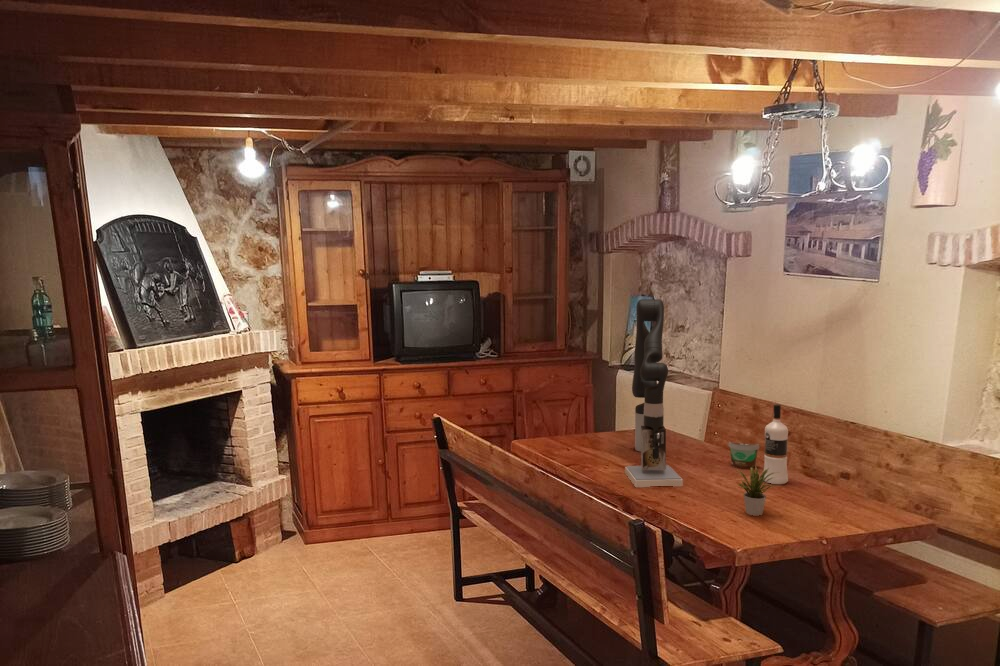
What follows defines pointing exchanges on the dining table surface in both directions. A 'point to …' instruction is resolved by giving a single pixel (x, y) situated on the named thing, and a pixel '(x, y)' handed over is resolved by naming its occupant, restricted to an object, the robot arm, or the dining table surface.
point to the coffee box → (647, 449)
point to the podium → (653, 477)
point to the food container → (743, 455)
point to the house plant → (755, 492)
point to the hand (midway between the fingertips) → (653, 455)
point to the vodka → (776, 449)
